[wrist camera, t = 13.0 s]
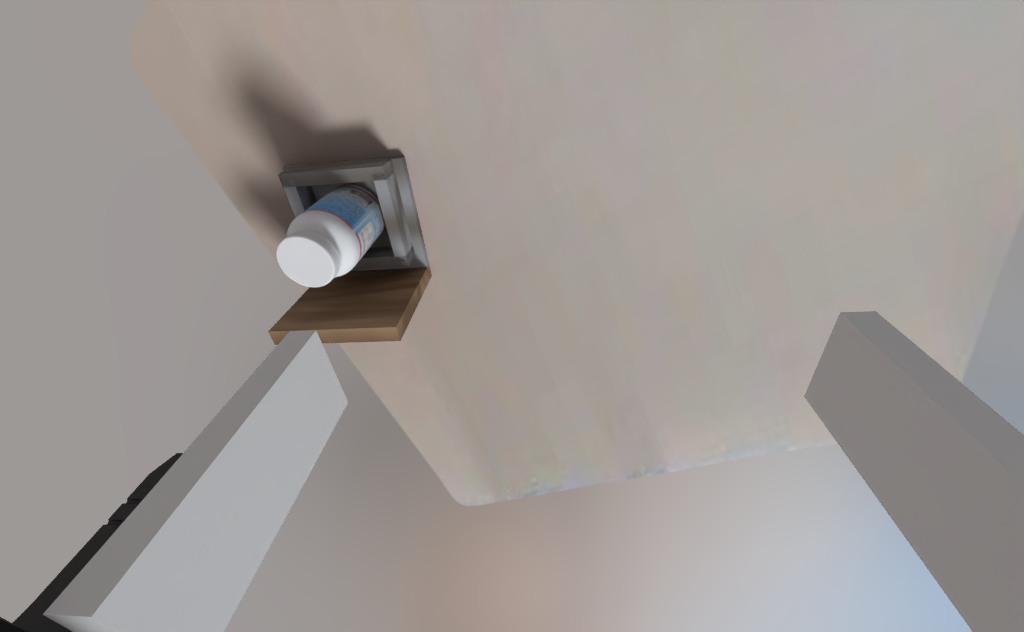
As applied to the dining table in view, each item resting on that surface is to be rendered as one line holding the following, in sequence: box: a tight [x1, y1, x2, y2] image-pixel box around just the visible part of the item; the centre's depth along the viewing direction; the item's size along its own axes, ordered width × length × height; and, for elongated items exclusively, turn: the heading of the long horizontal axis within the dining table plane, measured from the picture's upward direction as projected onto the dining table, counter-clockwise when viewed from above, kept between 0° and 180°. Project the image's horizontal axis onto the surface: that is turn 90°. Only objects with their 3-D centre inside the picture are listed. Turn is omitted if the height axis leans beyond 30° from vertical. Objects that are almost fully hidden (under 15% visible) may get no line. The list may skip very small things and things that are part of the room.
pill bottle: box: [276, 185, 385, 287], centre depth 37 cm, size 6×6×11 cm
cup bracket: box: [269, 156, 432, 345], centre depth 38 cm, size 13×12×12 cm
